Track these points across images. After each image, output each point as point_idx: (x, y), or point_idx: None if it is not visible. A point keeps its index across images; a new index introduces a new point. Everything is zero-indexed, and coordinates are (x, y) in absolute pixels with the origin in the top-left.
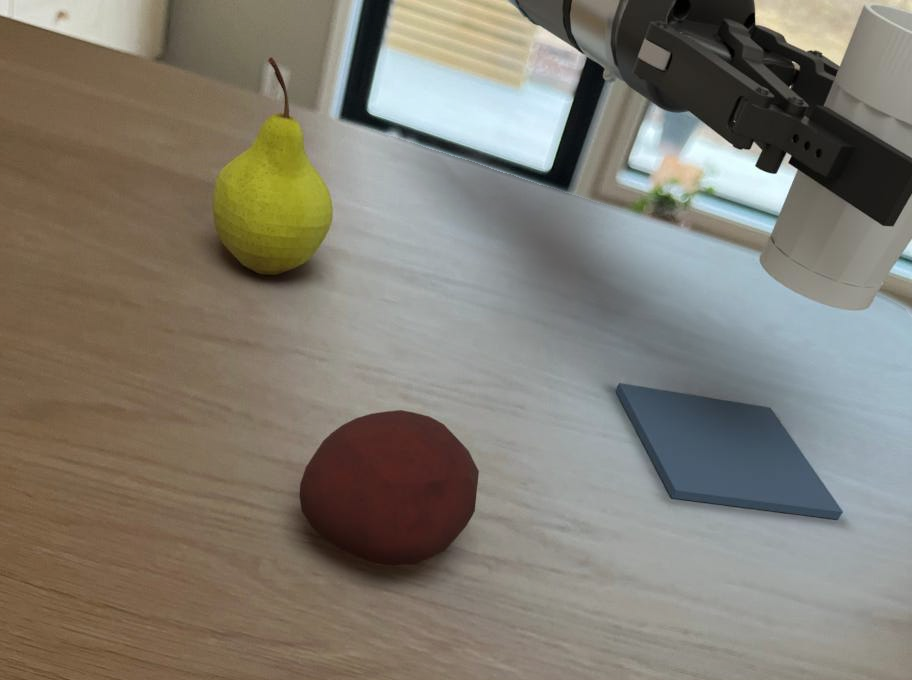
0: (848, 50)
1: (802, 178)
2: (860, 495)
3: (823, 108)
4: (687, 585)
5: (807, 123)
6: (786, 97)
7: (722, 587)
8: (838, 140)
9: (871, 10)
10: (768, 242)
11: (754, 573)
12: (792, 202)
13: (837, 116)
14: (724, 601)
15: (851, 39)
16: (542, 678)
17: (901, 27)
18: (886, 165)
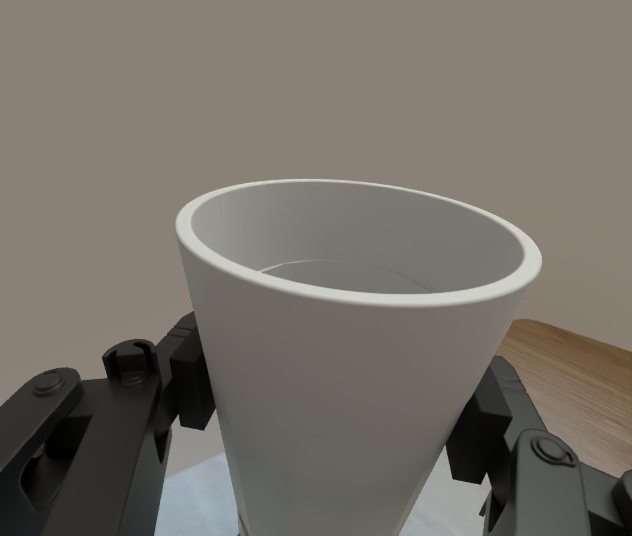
0: (492, 356)
1: (424, 482)
2: (219, 490)
3: (499, 404)
4: (468, 482)
5: (528, 417)
6: (575, 472)
7: (440, 469)
8: (493, 368)
9: (538, 263)
10: None
11: None
12: (415, 501)
13: (487, 377)
14: (447, 460)
15: (492, 347)
16: (601, 468)
17: (515, 227)
18: None
